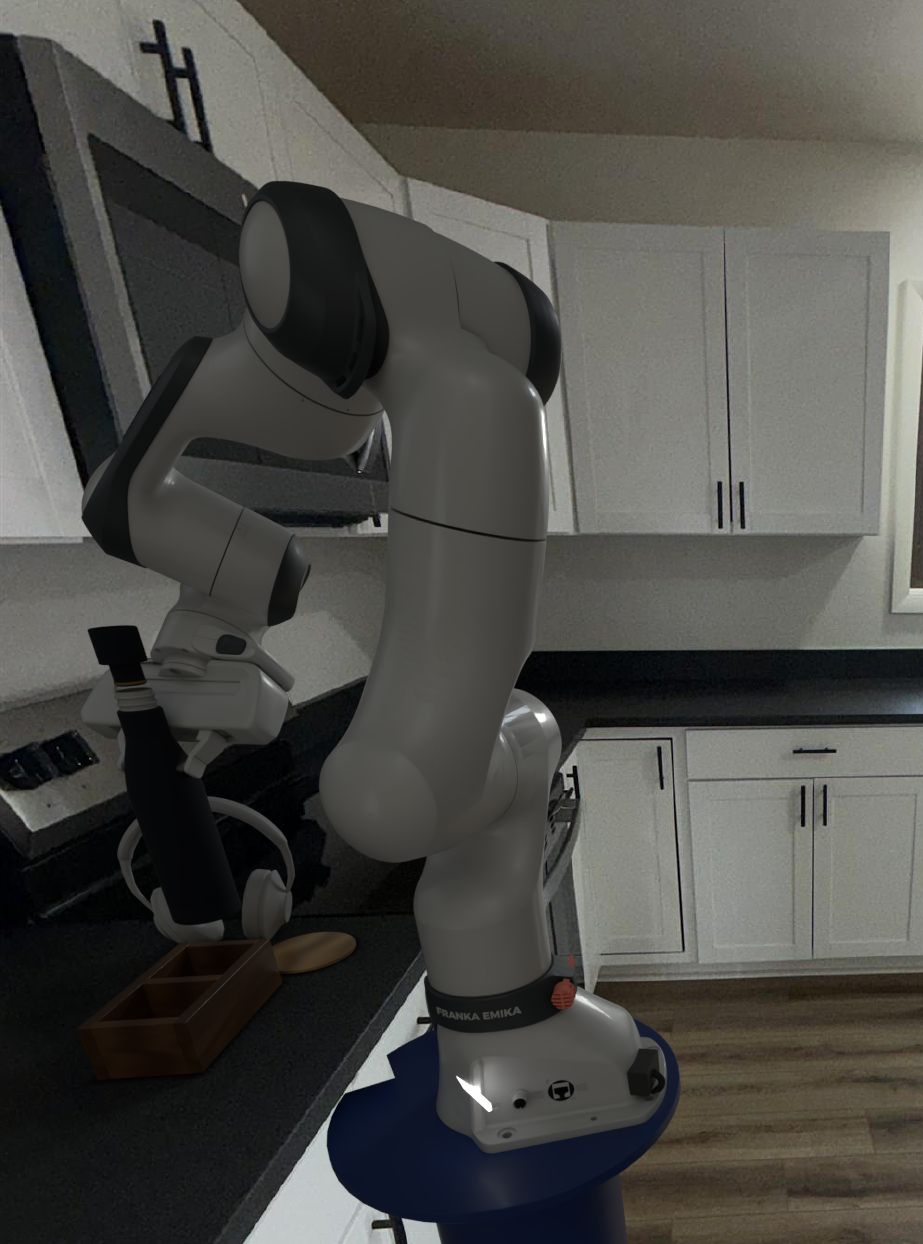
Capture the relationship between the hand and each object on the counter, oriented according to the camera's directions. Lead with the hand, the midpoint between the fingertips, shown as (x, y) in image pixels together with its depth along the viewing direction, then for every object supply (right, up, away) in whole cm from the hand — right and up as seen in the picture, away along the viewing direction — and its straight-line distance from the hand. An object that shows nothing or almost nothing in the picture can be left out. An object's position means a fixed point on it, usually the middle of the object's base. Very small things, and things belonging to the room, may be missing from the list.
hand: (158, 774), depth 86 cm
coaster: (+2, -19, +24) cm, 31 cm away
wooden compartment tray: (-1, -27, +8) cm, 28 cm away
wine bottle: (0, -14, +7) cm, 16 cm away
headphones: (-10, -19, +26) cm, 33 cm away
